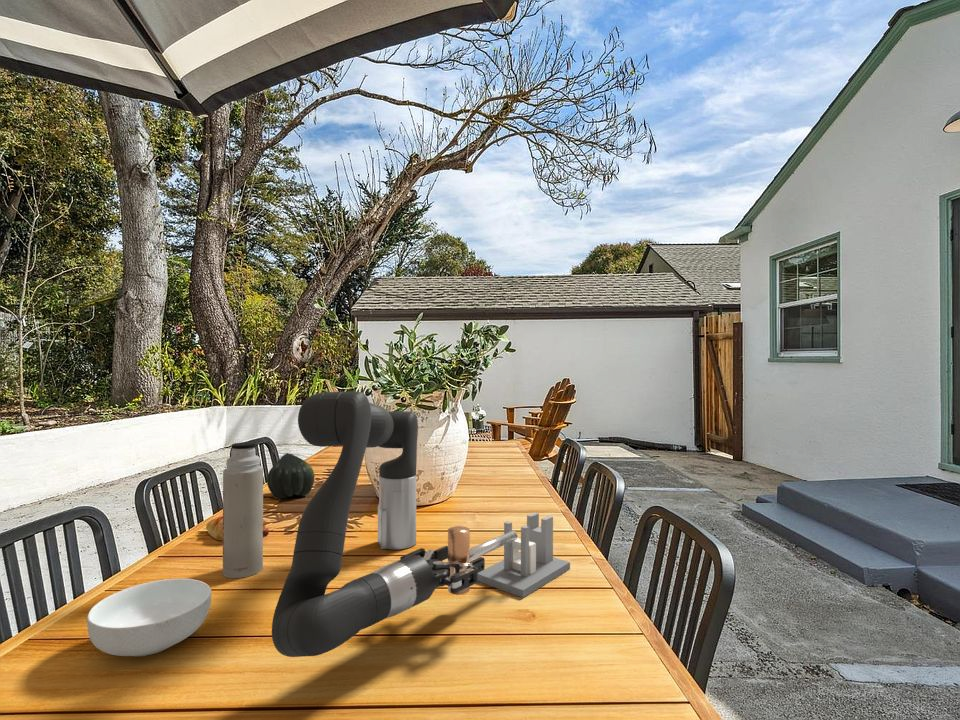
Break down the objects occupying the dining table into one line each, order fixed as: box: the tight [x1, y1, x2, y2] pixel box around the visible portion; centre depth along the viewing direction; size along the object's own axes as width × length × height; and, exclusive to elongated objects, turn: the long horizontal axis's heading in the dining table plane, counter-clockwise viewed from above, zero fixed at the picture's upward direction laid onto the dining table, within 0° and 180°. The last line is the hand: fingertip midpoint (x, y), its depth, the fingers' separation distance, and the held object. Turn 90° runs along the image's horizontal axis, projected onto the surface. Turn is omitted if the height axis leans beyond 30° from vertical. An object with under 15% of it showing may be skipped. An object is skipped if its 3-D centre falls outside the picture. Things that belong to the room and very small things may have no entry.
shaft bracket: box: [478, 511, 571, 599], centre depth 109 cm, size 18×12×12 cm, turn 140°
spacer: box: [512, 537, 536, 575], centre depth 108 cm, size 2×6×6 cm, turn 50°
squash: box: [266, 452, 315, 499], centre depth 172 cm, size 14×15×15 cm
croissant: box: [205, 515, 270, 541], centre depth 132 cm, size 21×10×8 cm, turn 69°
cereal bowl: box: [86, 578, 212, 657], centre depth 82 cm, size 17×17×7 cm
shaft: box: [447, 525, 519, 596], centre depth 98 cm, size 19×4×11 cm, turn 140°
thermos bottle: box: [222, 441, 264, 579], centre depth 110 cm, size 8×8×28 cm
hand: (465, 556), depth 94 cm, fingers open, 8 cm apart
